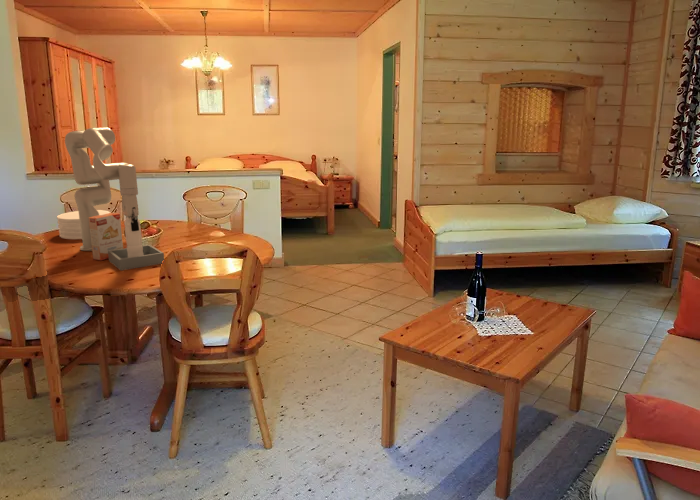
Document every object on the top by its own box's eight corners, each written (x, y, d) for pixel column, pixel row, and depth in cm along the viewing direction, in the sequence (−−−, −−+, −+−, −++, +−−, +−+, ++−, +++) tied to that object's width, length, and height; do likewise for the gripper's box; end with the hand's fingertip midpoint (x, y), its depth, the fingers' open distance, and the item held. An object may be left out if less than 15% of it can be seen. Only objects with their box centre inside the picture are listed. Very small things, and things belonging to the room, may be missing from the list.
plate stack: (49, 235, 328) (46, 215, 325) (94, 226, 350) (92, 208, 347) (77, 241, 313) (75, 221, 310) (122, 232, 335) (120, 212, 332)
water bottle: (130, 257, 274) (125, 206, 268) (145, 257, 275) (140, 206, 268) (126, 261, 267) (120, 209, 261) (141, 261, 268) (136, 208, 261)
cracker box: (101, 261, 273) (96, 218, 268) (92, 259, 276) (87, 217, 271) (124, 254, 285) (120, 213, 280) (116, 252, 288) (111, 212, 283)
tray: (109, 261, 273) (107, 250, 272) (151, 254, 285) (150, 244, 283) (120, 270, 258) (119, 259, 256) (164, 263, 269) (163, 252, 268)
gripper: (115, 190, 267) (119, 227, 272) (126, 194, 254) (130, 233, 258) (131, 188, 272) (135, 225, 276) (143, 193, 258) (146, 231, 263)
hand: (132, 229), depth 267 cm, fingers closed on water bottle, 7 cm apart
